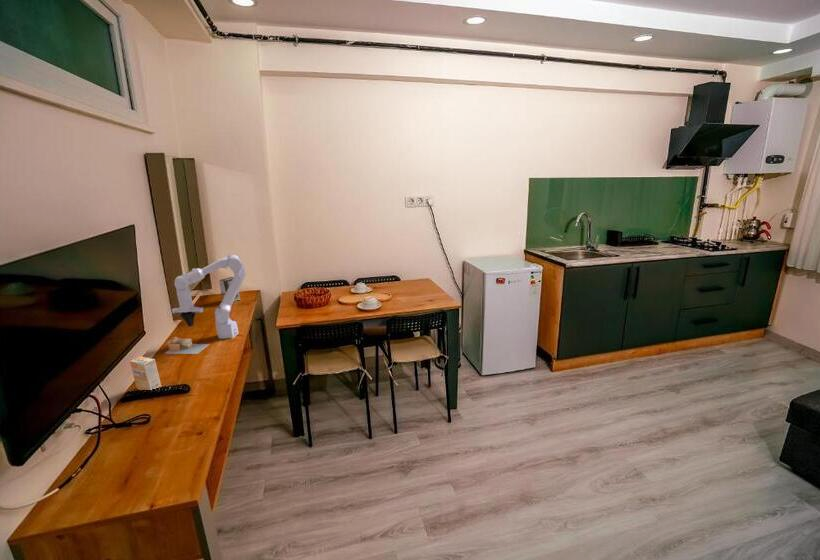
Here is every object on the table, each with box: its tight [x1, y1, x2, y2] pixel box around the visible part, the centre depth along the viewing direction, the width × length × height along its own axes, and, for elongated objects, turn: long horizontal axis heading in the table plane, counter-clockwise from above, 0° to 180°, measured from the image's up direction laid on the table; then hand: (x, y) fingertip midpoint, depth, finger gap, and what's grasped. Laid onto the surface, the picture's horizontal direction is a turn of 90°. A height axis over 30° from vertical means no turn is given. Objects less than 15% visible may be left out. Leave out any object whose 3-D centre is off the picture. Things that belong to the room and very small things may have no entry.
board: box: [164, 343, 211, 355], centre depth 183 cm, size 17×10×1 cm, turn 86°
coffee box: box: [218, 276, 241, 303], centre depth 247 cm, size 9×6×16 cm
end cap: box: [166, 336, 181, 351], centre depth 184 cm, size 6×6×4 cm
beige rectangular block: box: [172, 337, 193, 349], centre depth 184 cm, size 8×3×4 cm, turn 85°
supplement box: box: [129, 355, 162, 391], centre depth 149 cm, size 8×5×13 cm, turn 70°
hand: (190, 325), depth 187 cm, fingers closed
